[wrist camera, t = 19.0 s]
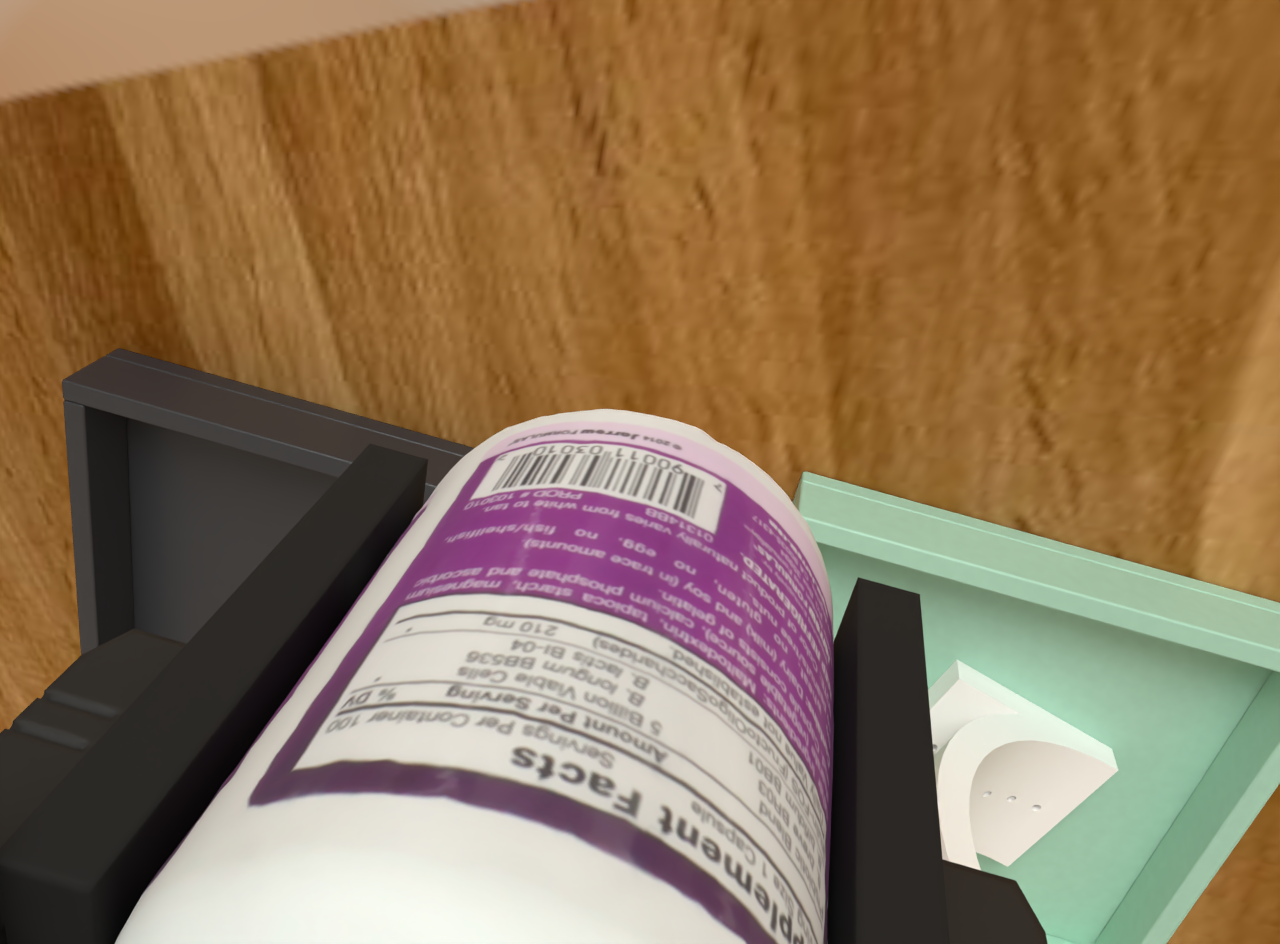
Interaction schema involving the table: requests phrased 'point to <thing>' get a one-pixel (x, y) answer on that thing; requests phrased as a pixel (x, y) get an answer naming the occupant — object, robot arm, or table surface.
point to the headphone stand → (1004, 767)
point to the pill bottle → (546, 719)
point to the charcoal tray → (196, 486)
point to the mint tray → (1089, 694)
